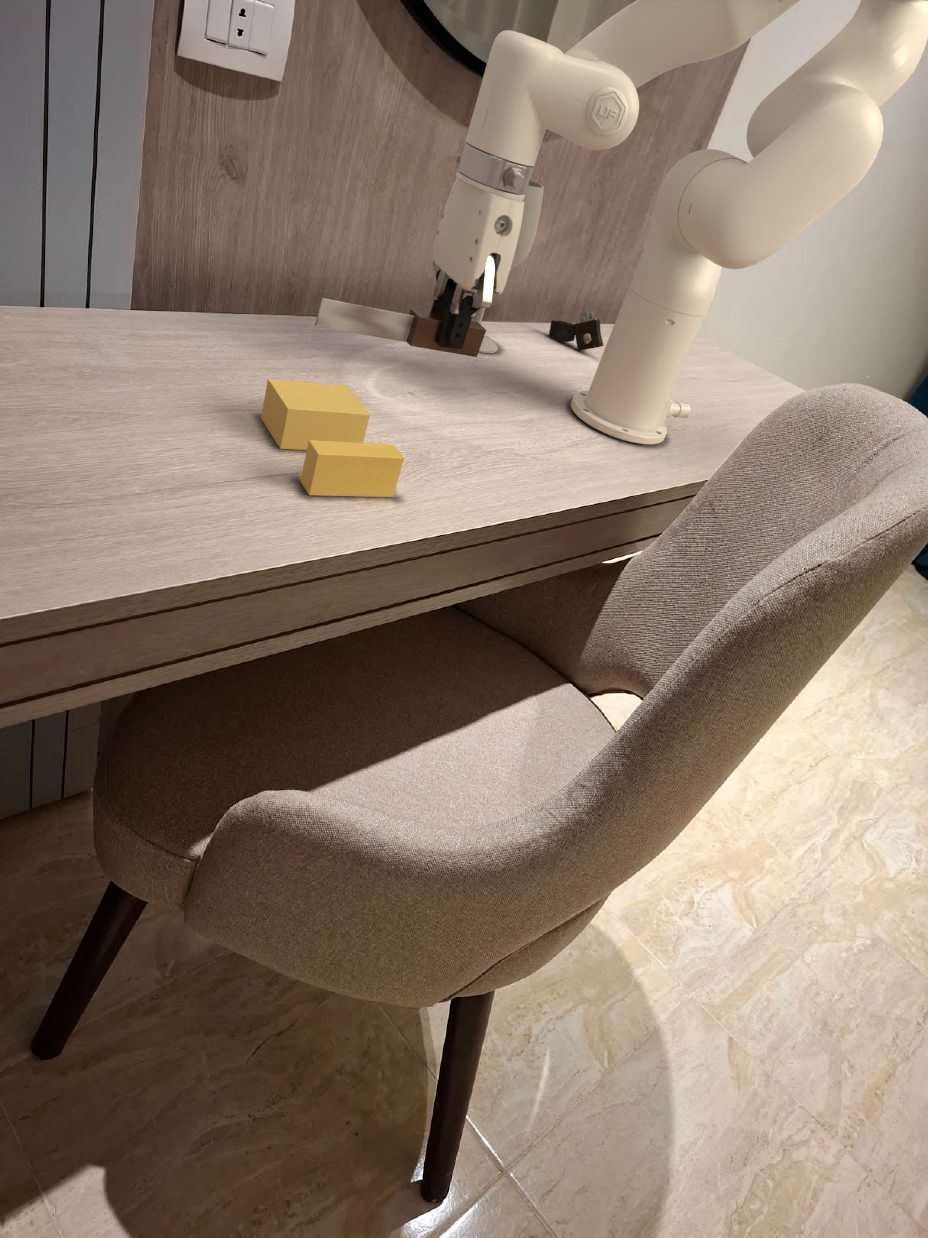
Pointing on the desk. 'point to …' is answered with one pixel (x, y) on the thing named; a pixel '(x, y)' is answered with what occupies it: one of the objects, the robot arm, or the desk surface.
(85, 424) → the desk surface
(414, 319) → the knife
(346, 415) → the butter block
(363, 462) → the butter slice
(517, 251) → the wineglass
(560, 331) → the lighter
